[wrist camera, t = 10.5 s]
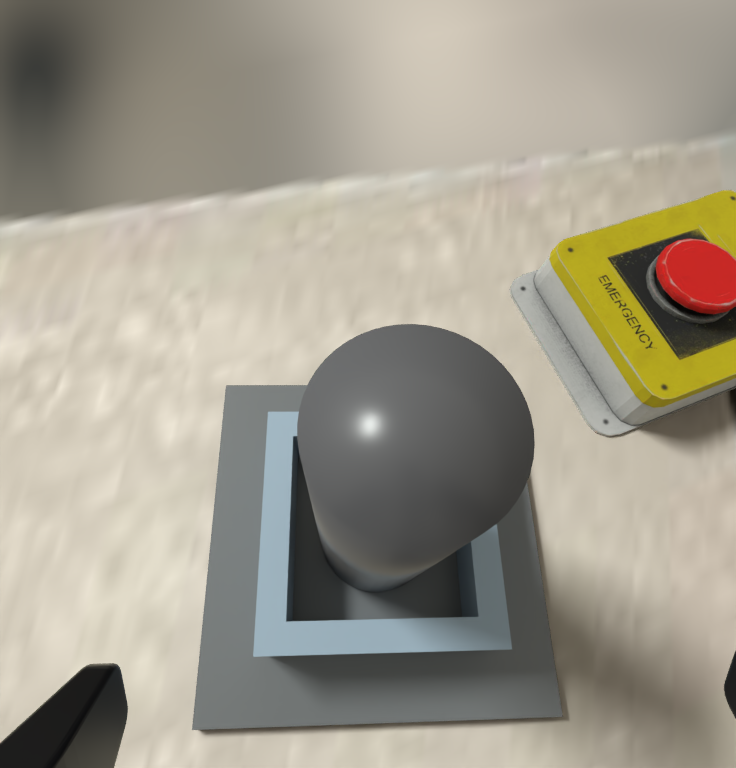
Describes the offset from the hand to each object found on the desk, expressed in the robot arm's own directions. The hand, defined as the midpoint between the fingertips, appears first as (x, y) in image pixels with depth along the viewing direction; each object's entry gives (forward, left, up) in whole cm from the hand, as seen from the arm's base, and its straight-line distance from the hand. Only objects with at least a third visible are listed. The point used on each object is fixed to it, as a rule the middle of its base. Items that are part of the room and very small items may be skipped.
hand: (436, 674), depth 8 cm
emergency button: (-5, -21, -14) cm, 26 cm away
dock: (+2, -4, -13) cm, 14 cm away
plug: (+2, -3, -13) cm, 14 cm away
